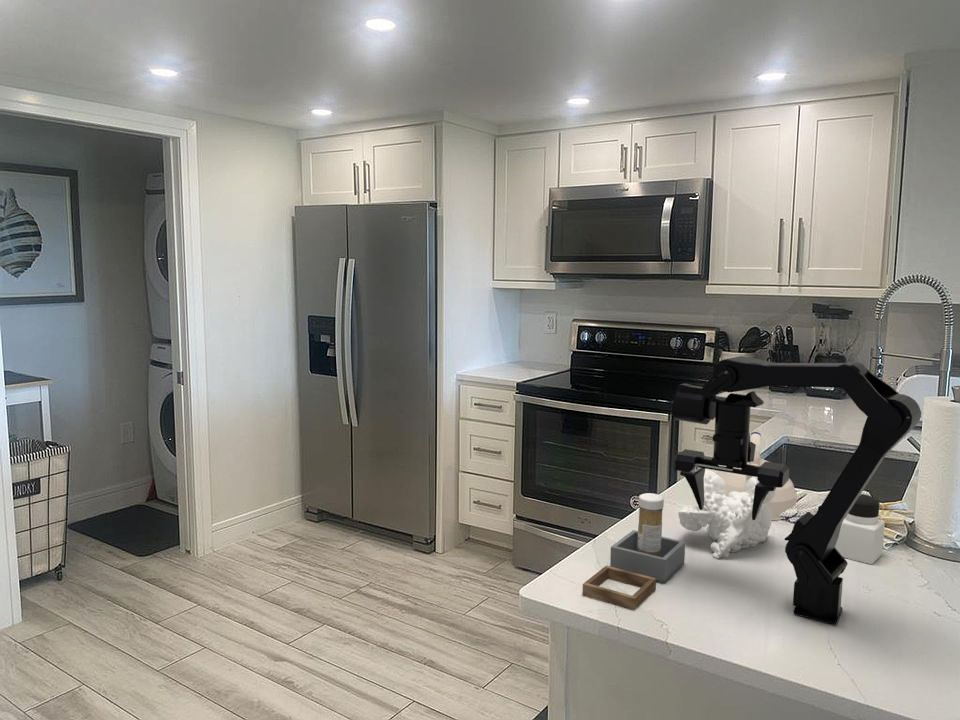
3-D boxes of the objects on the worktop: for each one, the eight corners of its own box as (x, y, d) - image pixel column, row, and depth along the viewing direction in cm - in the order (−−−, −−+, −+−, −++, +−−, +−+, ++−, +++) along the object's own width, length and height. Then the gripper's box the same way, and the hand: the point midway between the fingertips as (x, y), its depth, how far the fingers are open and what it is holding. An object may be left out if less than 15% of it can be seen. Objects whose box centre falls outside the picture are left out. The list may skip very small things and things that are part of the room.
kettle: (704, 515, 166) (708, 438, 164) (709, 489, 186) (713, 420, 183) (800, 527, 159) (805, 447, 157) (795, 499, 178) (800, 427, 176)
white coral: (789, 489, 156) (779, 459, 140) (782, 583, 149) (770, 562, 133) (700, 480, 165) (681, 451, 150) (690, 568, 158) (668, 547, 142)
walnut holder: (655, 589, 128) (656, 578, 128) (634, 610, 120) (634, 598, 120) (605, 575, 133) (606, 565, 133) (582, 594, 125) (582, 584, 125)
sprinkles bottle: (638, 558, 140) (640, 491, 138) (662, 561, 138) (665, 494, 137) (634, 567, 136) (637, 498, 134) (659, 571, 134) (662, 501, 132)
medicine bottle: (882, 554, 144) (887, 496, 142) (872, 565, 139) (877, 505, 137) (844, 545, 149) (848, 488, 147) (832, 555, 143) (837, 496, 142)
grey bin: (684, 564, 139) (685, 541, 138) (664, 584, 130) (665, 560, 129) (632, 551, 144) (633, 530, 144) (610, 569, 136) (610, 546, 135)
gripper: (798, 427, 128) (792, 512, 130) (694, 414, 138) (690, 493, 140) (784, 439, 119) (778, 530, 121) (673, 424, 129) (670, 508, 131)
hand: (727, 514), depth 128 cm, fingers open, 9 cm apart
